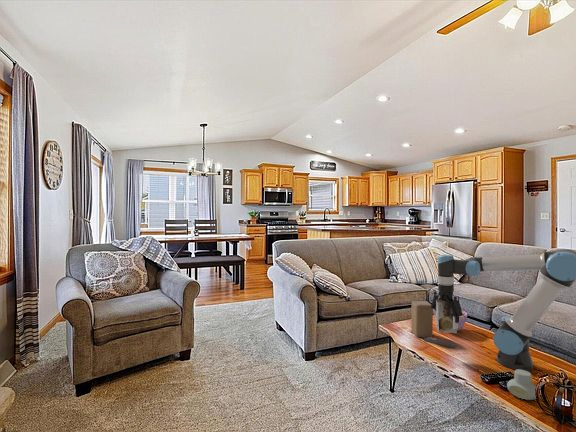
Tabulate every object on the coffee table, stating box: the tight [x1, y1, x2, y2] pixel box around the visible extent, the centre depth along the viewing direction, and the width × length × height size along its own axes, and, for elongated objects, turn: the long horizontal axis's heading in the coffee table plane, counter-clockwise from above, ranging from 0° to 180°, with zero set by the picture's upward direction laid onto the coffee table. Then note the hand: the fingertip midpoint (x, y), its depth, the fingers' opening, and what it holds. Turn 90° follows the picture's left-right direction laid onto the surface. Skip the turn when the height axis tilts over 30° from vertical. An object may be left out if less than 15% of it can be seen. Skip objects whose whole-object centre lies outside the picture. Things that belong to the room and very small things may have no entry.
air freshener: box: [506, 369, 537, 401], centre depth 137 cm, size 11×8×10 cm
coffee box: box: [436, 298, 458, 334], centre depth 175 cm, size 9×6×16 cm
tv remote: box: [423, 336, 456, 349], centre depth 191 cm, size 16×4×2 cm, turn 52°
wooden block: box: [410, 300, 434, 338], centre depth 203 cm, size 10×10×20 cm
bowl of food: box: [433, 309, 468, 331], centre depth 213 cm, size 20×20×12 cm
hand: (446, 325), depth 175 cm, fingers closed on coffee box, 10 cm apart
